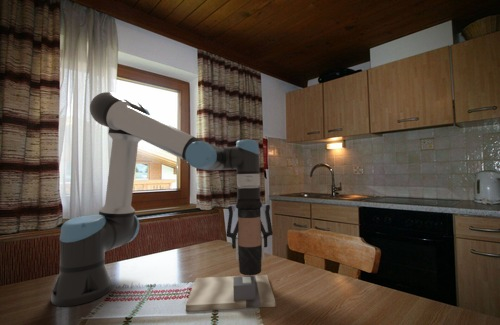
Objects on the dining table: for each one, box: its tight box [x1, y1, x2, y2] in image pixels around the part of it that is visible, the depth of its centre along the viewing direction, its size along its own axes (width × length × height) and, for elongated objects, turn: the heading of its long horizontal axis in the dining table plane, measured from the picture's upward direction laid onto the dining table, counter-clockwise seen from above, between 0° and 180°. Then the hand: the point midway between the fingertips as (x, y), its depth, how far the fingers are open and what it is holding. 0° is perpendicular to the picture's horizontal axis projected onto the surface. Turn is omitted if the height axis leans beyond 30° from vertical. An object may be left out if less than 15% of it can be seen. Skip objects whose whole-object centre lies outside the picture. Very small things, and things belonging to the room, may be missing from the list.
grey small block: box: [233, 275, 256, 301], centre depth 71 cm, size 6×6×4 cm
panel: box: [185, 274, 276, 312], centre depth 76 cm, size 24×18×2 cm
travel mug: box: [237, 208, 262, 276], centre depth 81 cm, size 8×8×20 cm
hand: (250, 257), depth 81 cm, fingers closed on travel mug, 8 cm apart
